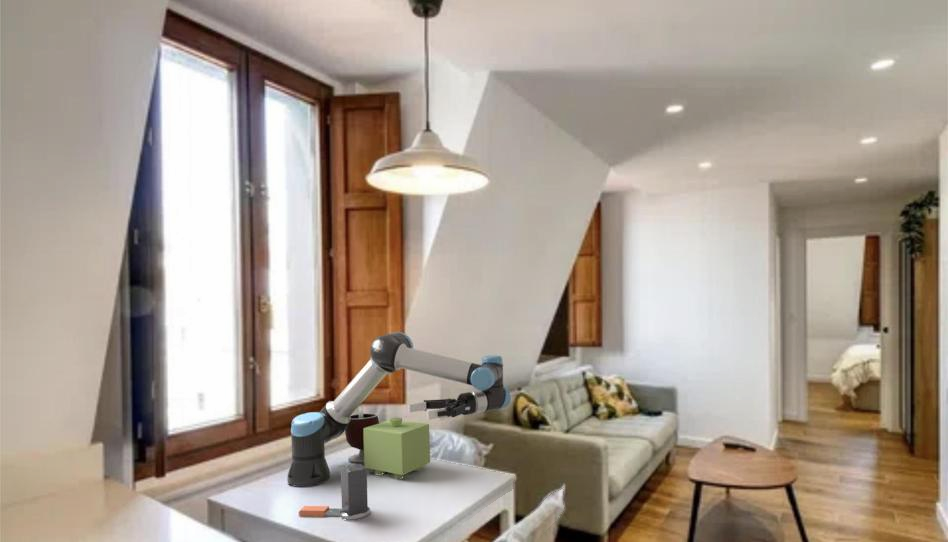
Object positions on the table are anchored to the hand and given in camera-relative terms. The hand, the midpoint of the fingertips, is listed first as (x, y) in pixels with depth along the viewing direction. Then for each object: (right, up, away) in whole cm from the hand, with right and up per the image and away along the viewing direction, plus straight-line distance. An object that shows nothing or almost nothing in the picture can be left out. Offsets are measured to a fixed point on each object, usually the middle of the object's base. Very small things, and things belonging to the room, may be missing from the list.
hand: (417, 411), depth 182 cm
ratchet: (-24, -29, -13) cm, 40 cm away
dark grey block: (-18, -27, -13) cm, 35 cm away
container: (-10, -30, +26) cm, 41 cm away
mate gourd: (-27, -30, +44) cm, 60 cm away
